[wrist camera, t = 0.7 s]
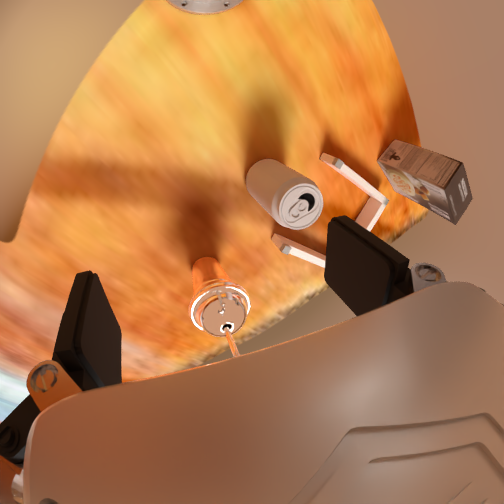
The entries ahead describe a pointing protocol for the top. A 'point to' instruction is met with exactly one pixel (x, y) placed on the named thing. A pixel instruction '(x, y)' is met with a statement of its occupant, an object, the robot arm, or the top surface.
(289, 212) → the beverage can
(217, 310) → the cup with straw
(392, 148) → the coffee box
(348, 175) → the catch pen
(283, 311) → the top surface
